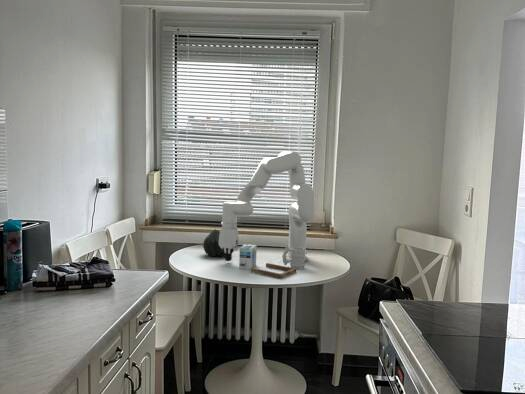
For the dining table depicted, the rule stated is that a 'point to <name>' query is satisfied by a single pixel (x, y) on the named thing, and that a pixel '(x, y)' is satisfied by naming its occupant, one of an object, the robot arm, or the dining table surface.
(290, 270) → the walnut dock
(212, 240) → the squash
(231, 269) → the dining table surface
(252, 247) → the light bulb box
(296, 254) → the mug
